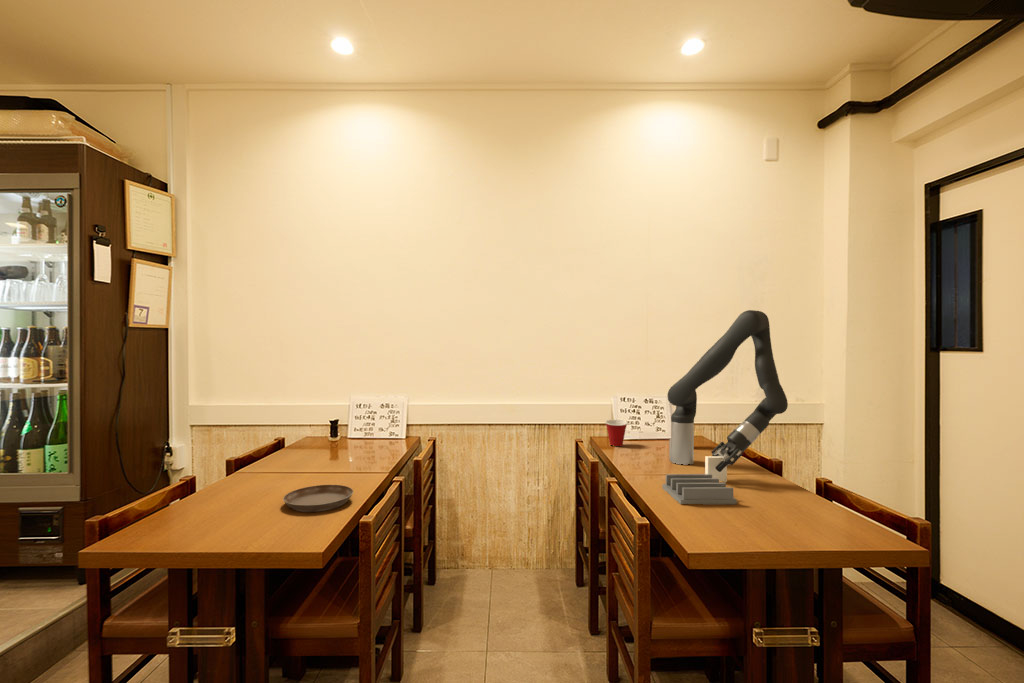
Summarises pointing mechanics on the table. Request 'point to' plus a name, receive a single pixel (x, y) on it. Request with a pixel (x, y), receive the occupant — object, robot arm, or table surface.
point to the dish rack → (698, 489)
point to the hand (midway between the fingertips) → (712, 467)
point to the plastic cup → (616, 431)
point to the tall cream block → (710, 467)
